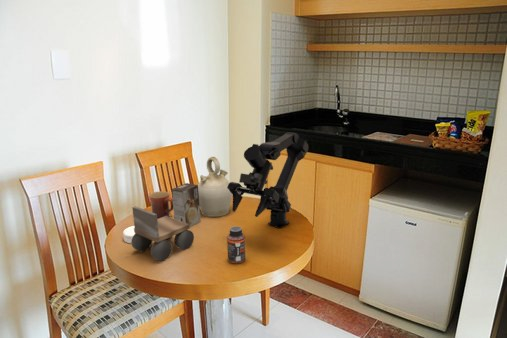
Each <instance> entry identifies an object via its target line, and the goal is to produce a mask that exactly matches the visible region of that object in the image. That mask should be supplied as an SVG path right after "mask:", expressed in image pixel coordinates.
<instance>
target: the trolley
mask: <svg viewBox="0 0 507 338" xmlns="http://www.w3.org/2000/svg"><path fill="white" fill-rule="evenodd" d="M131 208H132V215H133V216H132V217H133V224H134V225H133V226H135V228H134V233H135V234H134V236H133V238H132V242H131V243H130V244H131V247H132V248H133V249H134V250H136V251H138V252H145V251H147V250H149V249H150V256H151V257H152V258H153V259H155V260H157V261H159V262H163V261H167V259H168V258H169V257H170V256H171V255H172V250H173V246H172V243H171V242H170V241H169V240H171V239H172V237H173V236H174V239H173V242H174V245H175V247H176V248H178V249H181V250H184V251H185V250H188V249H190V247H191V246H192V245H193V243H194V240H195V235H194V232H193V231H192V230H189V229H191V227H190V226H189V224H187V223H185V222H182V221H179V220H176V219H174V217H171V216H169V217H168V216H164V217H162V218H159V219H157V214H155V213H152V211H150V210H147V209H143V208H141V207H139V206H132V207H131Z"/></svg>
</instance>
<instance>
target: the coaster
mask: <svg viewBox="0 0 507 338" xmlns="http://www.w3.org/2000/svg"><path fill="white" fill-rule="evenodd" d="M134 228H135V226H134V225H132V226H129V227H126V228H125V229H124V230H123V232H122V235H123V241H124V242H125V243H126V244H127V243H128V244H132V243H131V242H132V238H133V236H134V234H135V233H134Z"/></svg>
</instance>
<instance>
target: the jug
mask: <svg viewBox="0 0 507 338" xmlns="http://www.w3.org/2000/svg"><path fill="white" fill-rule="evenodd" d="M212 162H213V163H212ZM213 164H214V169H213V166H212V165H213ZM220 164H221V163H220V161H219V160H218V158H217V157H216V156H210V157H208V159H207V161H206V169H207V171H208V175H207V176H206V175H200V179H199V180H200V181H199V182H198V184H197V185H198V193H199V206H200V212H201V214H202V215H203V216H205V217H209V218H221V217H223V216H226V215H228V214H229V212H230V209H231V203H232V198H233V195H232V193H231V192H230V191H229V189H228V188H227V187H228V184H229V183H230V181H229V180H228V179H227V178H226V176H227V175H228V173H229V172H228V171H226V170H224V169H222V168H221V165H220Z"/></svg>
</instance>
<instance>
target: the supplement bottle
mask: <svg viewBox="0 0 507 338" xmlns="http://www.w3.org/2000/svg"><path fill="white" fill-rule="evenodd" d="M245 235H246V234H244V233H243V229H242V227H240V226H232V227H230V228H229V233H228V234H227V236H226V237H227V238H226V245H227V260H228V262H230V263H231V264H241V263H244V261H246V236H245Z"/></svg>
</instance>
